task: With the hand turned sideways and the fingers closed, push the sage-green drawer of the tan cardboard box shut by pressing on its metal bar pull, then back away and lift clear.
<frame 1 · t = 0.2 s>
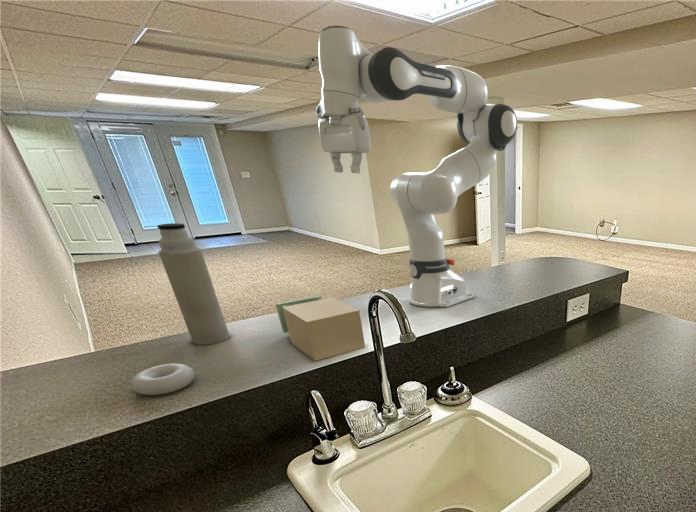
hand: (347, 172, 105), 39 cm above the worktop, tool pointing down, fingers open, 8 cm apart
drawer: (308, 317, 107), point 5 cm above the worktop, slide at 6.0 cm
tan cardboard box: (328, 344, 103), on the worktop
donut: (167, 387, 82), on the worktop
thermos bottle: (211, 339, 105), on the worktop
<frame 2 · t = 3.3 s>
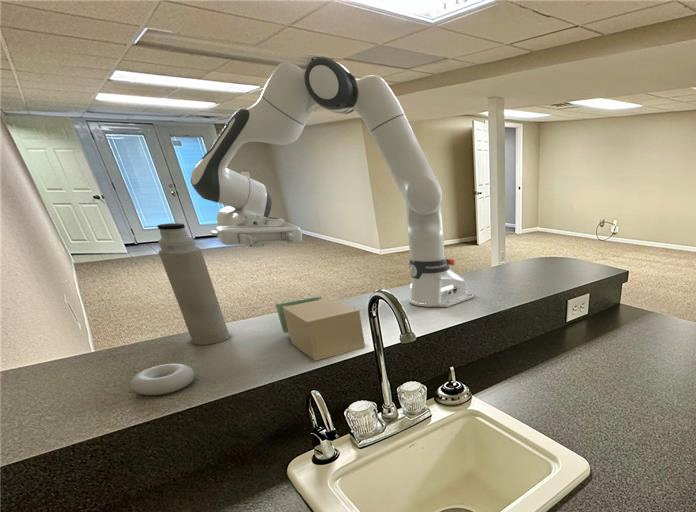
hand: (273, 240, 107), 23 cm above the worktop, tool horizontal, fingers open, 8 cm apart
nothing on the worktop moved.
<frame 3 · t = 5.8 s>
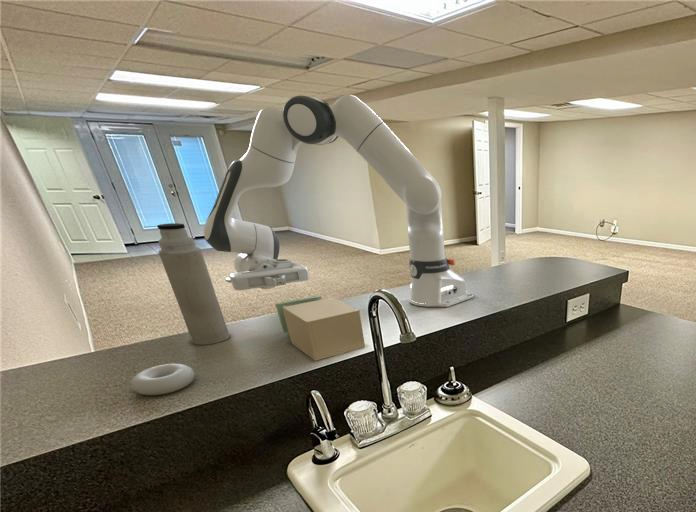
hand: (280, 282, 113), 11 cm above the worktop, tool horizontal, fingers closed
nothing on the worktop moved.
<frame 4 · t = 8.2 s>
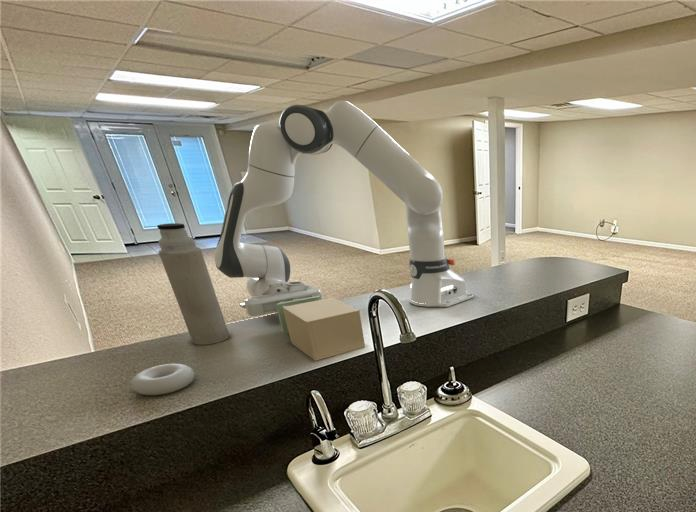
hand: (294, 307, 112), 5 cm above the worktop, tool horizontal, fingers closed, pressing on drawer
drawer: (308, 317, 107), point 5 cm above the worktop, slide at 6.0 cm, touching gripper
everything else where it was.
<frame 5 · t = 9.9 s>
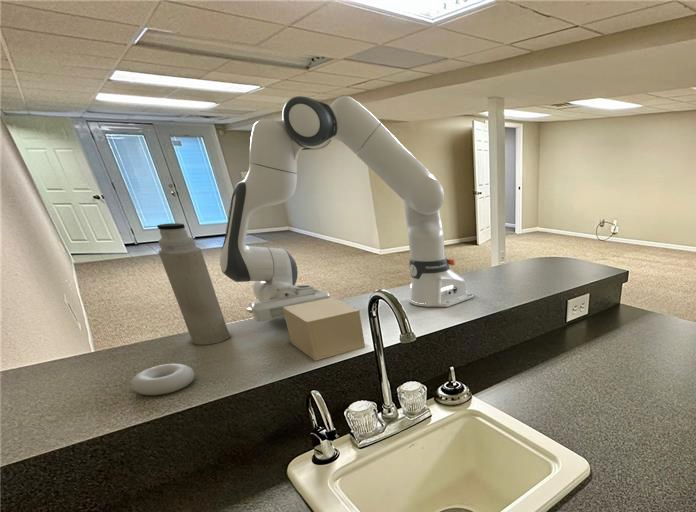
hand: (303, 312, 108), 5 cm above the worktop, tool horizontal, fingers closed, pressing on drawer
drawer: (317, 323, 103), point 5 cm above the worktop, slide at 0.0 cm, touching tan cardboard box, gripper
everything else where it was.
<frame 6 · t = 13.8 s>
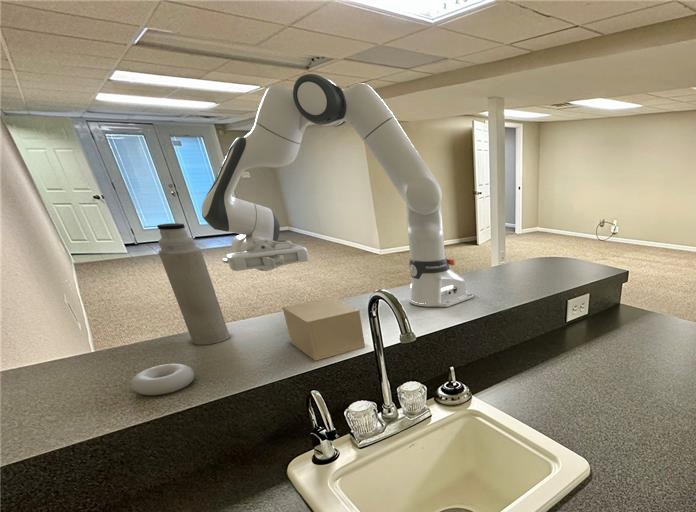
hand: (279, 262, 109), 17 cm above the worktop, tool horizontal, fingers closed
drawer: (317, 323, 103), point 5 cm above the worktop, slide at 0.0 cm
everything else where it was.
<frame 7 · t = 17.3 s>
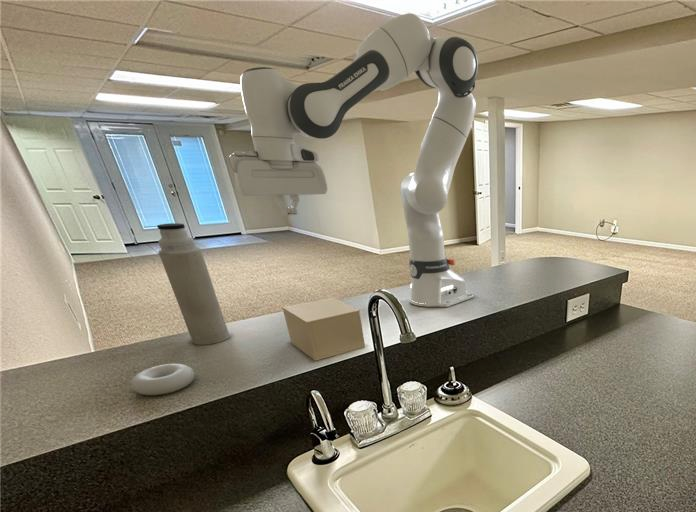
hand: (290, 215, 102), 29 cm above the worktop, tool pointing down, fingers closed
nothing on the worktop moved.
at the end: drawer slide at 0.0 cm; thermos bottle moved 0.2 cm from its start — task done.
